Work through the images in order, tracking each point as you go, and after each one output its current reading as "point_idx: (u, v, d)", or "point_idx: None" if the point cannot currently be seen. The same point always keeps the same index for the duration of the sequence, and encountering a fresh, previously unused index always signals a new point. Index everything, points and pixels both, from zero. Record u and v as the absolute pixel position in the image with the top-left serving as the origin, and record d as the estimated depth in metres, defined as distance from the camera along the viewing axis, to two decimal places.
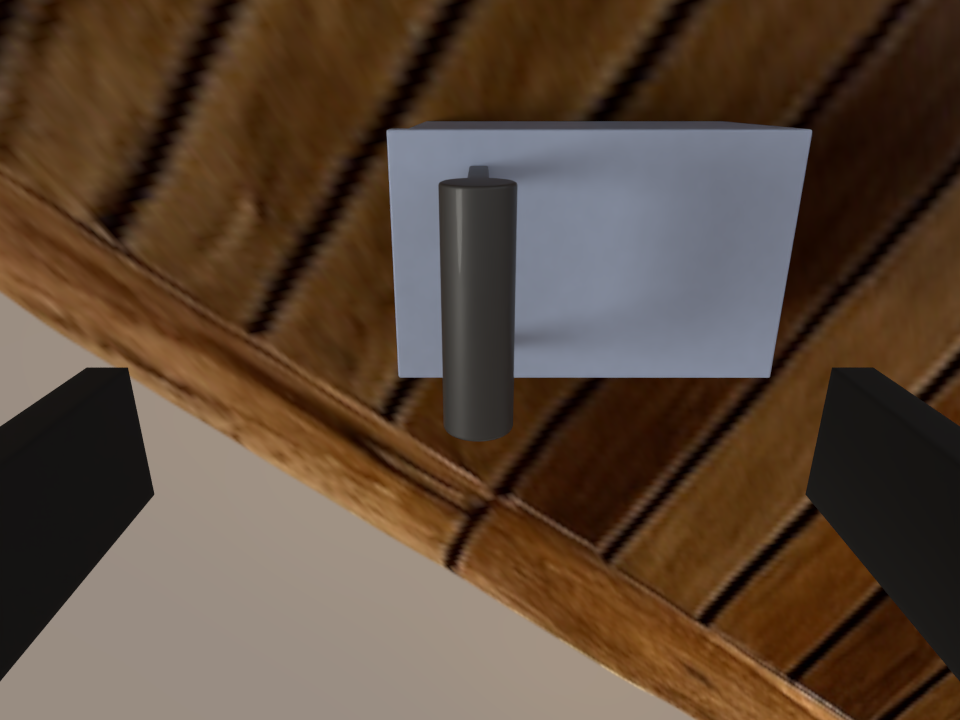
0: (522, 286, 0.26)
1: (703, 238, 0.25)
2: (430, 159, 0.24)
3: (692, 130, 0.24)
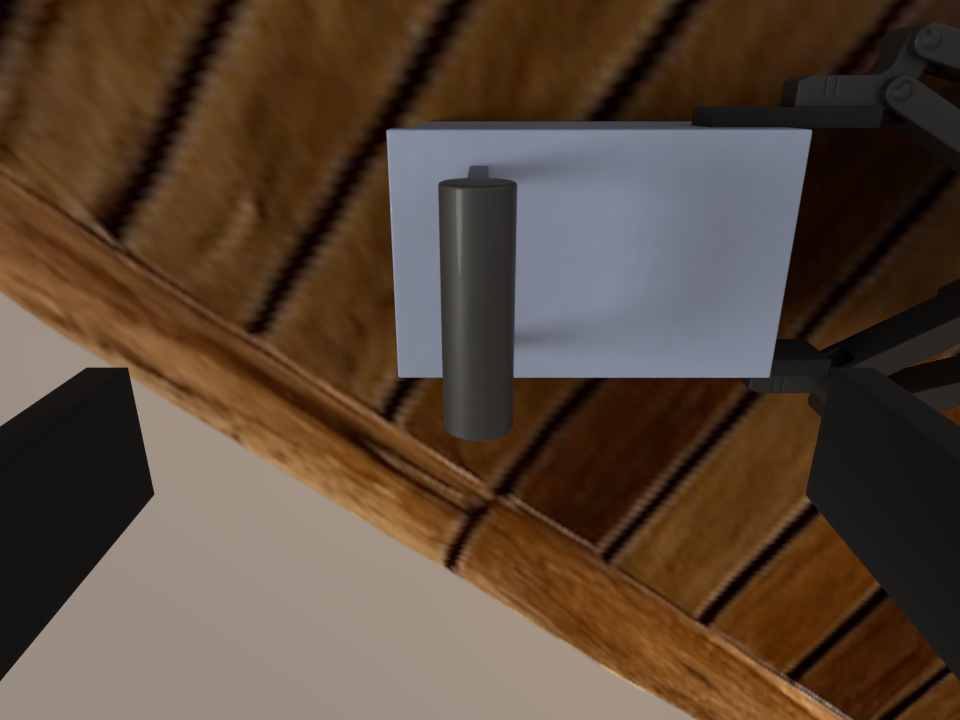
0: (522, 286, 0.26)
1: (703, 238, 0.25)
2: (430, 159, 0.24)
3: (692, 130, 0.24)
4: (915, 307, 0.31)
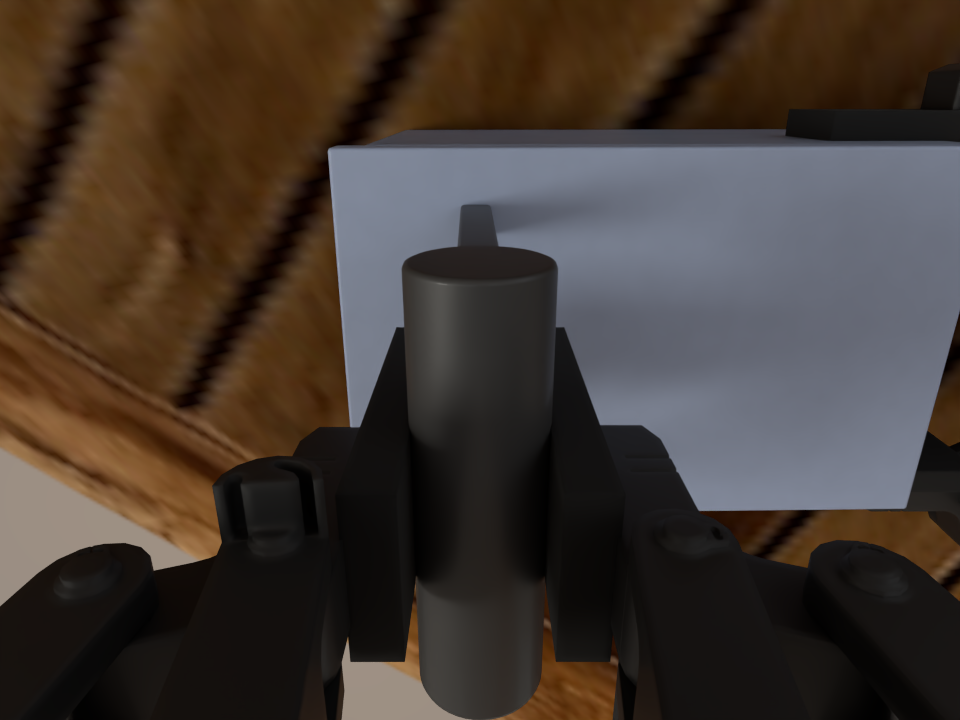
0: None
1: (822, 312, 0.16)
2: (398, 195, 0.15)
3: (815, 148, 0.15)
4: None
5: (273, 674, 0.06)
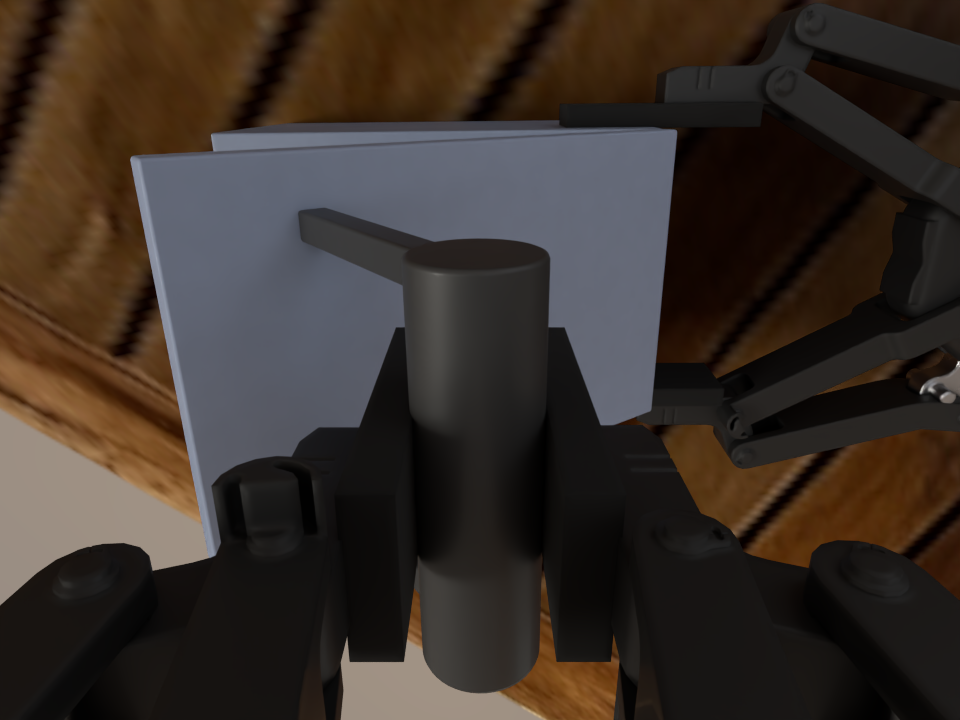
0: None
1: (590, 270, 0.20)
2: (228, 206, 0.14)
3: (573, 136, 0.18)
4: (826, 326, 0.27)
5: (272, 674, 0.06)
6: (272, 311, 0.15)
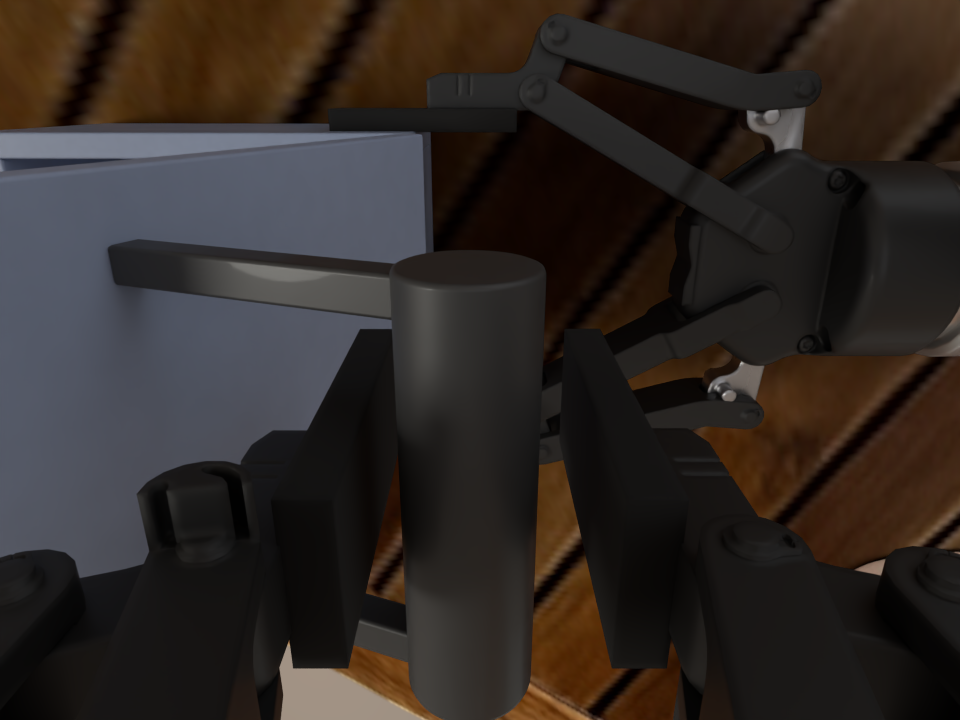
0: (226, 433, 0.15)
1: None
2: (19, 249, 0.10)
3: (352, 142, 0.18)
4: (622, 327, 0.28)
5: (200, 680, 0.06)
6: (89, 382, 0.11)
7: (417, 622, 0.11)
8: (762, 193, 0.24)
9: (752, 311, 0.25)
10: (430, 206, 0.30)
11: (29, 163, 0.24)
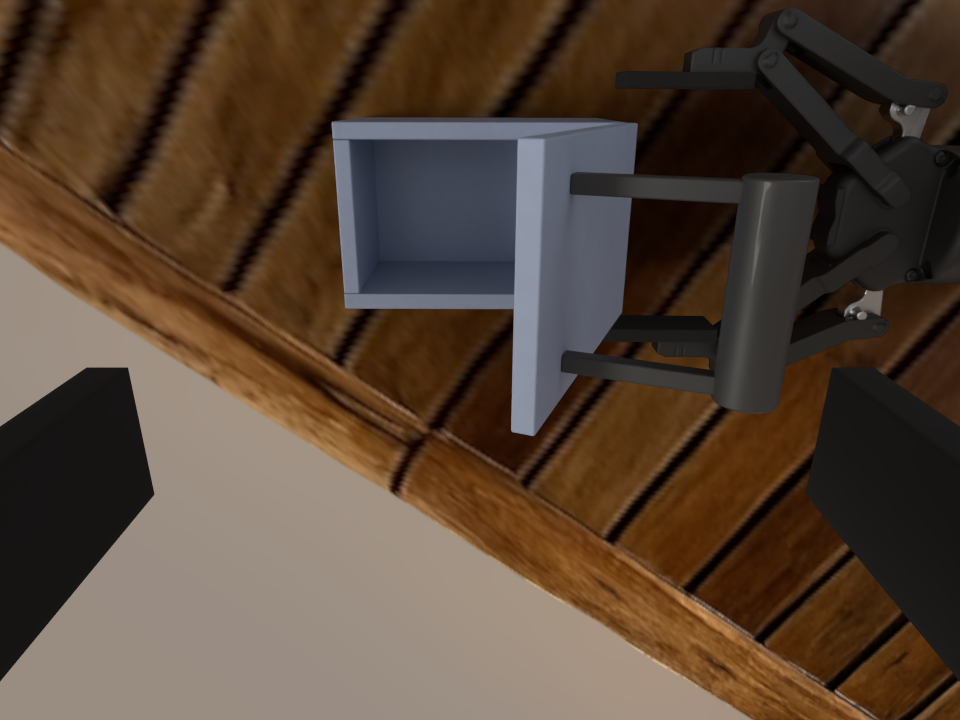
0: (578, 290, 0.26)
1: (618, 214, 0.31)
2: (558, 170, 0.21)
3: (620, 126, 0.29)
4: None
5: None
6: (560, 242, 0.22)
7: (734, 358, 0.22)
8: (889, 166, 0.35)
9: (880, 250, 0.36)
10: None
11: (354, 143, 0.35)
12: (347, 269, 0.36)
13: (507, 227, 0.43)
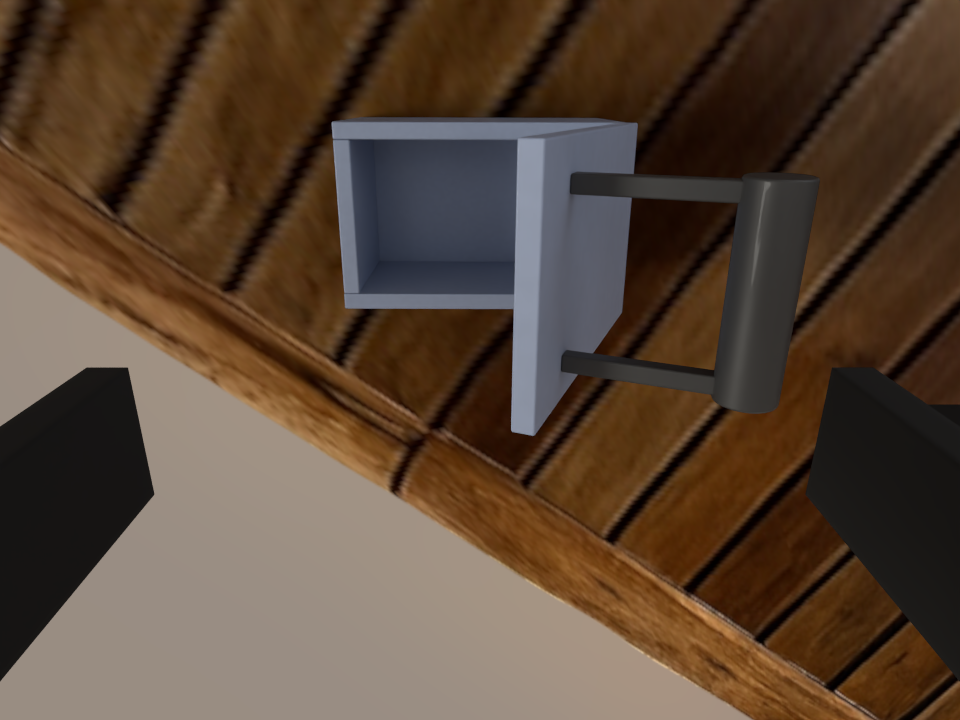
0: (578, 290, 0.26)
1: (617, 214, 0.31)
2: (558, 170, 0.21)
3: (620, 126, 0.29)
4: None
5: None
6: (560, 242, 0.22)
7: (734, 358, 0.22)
8: None
9: None
10: None
11: (354, 143, 0.35)
12: (347, 269, 0.36)
13: (507, 227, 0.43)
